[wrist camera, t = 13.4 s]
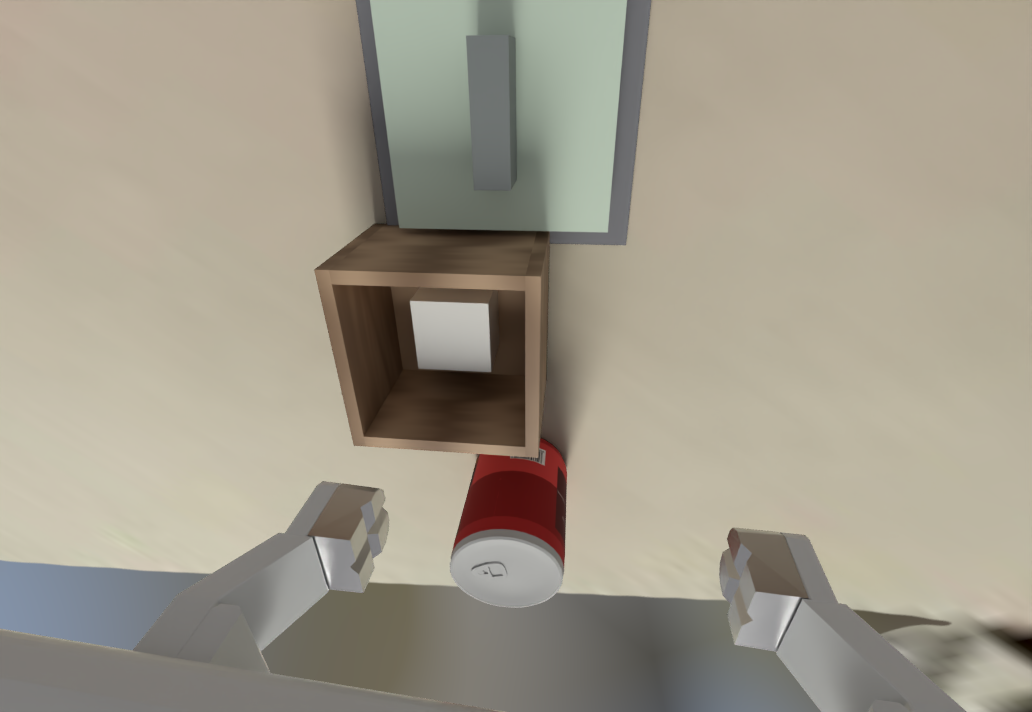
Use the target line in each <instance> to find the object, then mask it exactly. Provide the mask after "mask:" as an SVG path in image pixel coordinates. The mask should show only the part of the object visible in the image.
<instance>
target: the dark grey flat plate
mask: <svg viewBox="0 0 1032 712" xmlns="http://www.w3.org/2000/svg"><path fill="white" fill-rule="evenodd" d="M356 6H357V13H358V20H359V27H360V34H361V42H362V49H363V56H364V63H365V70H366V77H367V84H368V91H369V98H370V105H371V112H372V120H373V127H374V134H375V141H376V148H377V155H378V162H379V169H380V176H381V183H382V191H383V198H384V205H385V212H386V219H387V225H399V222H398V214H397V207H396V199H395V191H394V183H393V176H392V168H391V160H390V152H389V145H388V137H387V129H386V121H385V114H384V106H383V98H382V90H381V83H380V75H379V67H378V59H377V52H376V44H375V36H374V28H373V21H372V13H371V5H370V0H356ZM650 7H651V0H627V7H626V19H625V31H624V43H623V55H622V67H621V79H620V91H619V103H618V115H617V127H616V139H615V151H614V163H613V175H612V187H611V199H610V211H609V223H608V233H607V232H560V231H550V243H551V244H594V245H626V239H627V230H628V220H629V210H630V201H631V191H632V181H633V172H634V162H635V152H636V142H637V133H638V123H639V113H640V104H641V94H642V84H643V75H644V65H645V55H646V45H647V36H648V26H649V16H650Z"/></svg>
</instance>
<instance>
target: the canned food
mask: <svg viewBox="0 0 1032 712" xmlns="http://www.w3.org/2000/svg"><path fill="white" fill-rule="evenodd" d="M566 486H567V471H566V466H565V463H564V461H563V458H562V456H561V454H560V453H559V451H558V450H557V449H556V448H555V447H554V446H553V445H552V444H551V443H549V442H547V441H546V440H544V439H542V438H540V445H539V455H538V458H533V457H518V456H503V455H488V454H480V455H479V456H478V458H477V461H476V464H475V468H474V472H473V475H472V479H471V483H470V486H469V490H468V494H467V498H466V501H465V505H464V509H463V512H462V516H461V520H460V524H459V527H458V531H457V535H456V538H455V542H454V547H453V551H452V555H451V562H450V572H451V575H452V578H453V579H454V581H455V583H456V584H457V585H458V586H459V587H460V588H461V589H462V590H463V591H464V592H466V593H467V594H468V595H470V596H471V597H473V598H475V599H477V600H479V601H482V602H485V603H488V604H491V605H496V606H501V607H527V606H532V605H536V604H539V603H542V602H544V601H546V600H548V599H549V598H551V597H552V596H554V595H555V593H556V592H557V591H558V590H559V588H560V586H561V584H562V579H563V573H564V559H565V527H566Z"/></svg>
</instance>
